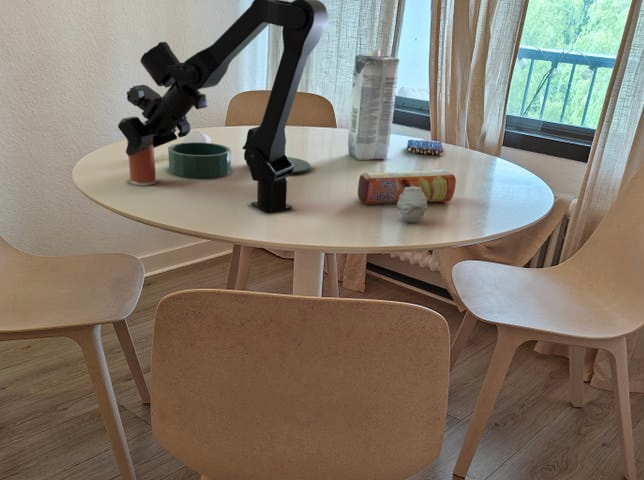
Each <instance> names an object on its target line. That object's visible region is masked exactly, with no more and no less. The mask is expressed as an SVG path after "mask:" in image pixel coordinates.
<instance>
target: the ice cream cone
mask: <svg viewBox="0 0 644 480" xmlns="http://www.w3.org/2000/svg"><path fill="white" fill-rule="evenodd" d="M189 142H204V143H212V141H211V138H210V136H208V135H207V134H205V133H203V132H201V131H199V130H190V132H189V133H188V134H187V135H186V136H184V139H183V140H182V141H181V143H189Z"/></svg>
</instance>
